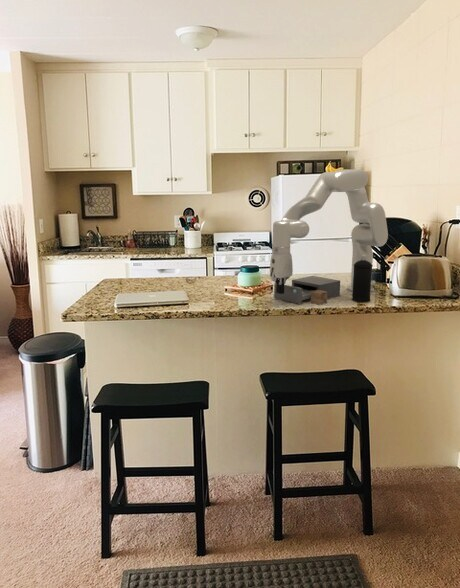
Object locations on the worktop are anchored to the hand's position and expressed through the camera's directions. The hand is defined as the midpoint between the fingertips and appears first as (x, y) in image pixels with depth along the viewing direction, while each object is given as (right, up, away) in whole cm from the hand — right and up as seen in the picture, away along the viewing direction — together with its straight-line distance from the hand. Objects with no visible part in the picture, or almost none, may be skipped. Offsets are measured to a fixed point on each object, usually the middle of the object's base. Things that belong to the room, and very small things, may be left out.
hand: (280, 293), depth 221 cm
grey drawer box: (+18, -1, +17) cm, 25 cm away
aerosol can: (+37, -3, +8) cm, 37 cm away
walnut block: (+17, -4, +2) cm, 18 cm away
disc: (+8, -1, +8) cm, 11 cm away
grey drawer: (+9, -2, +9) cm, 13 cm away
